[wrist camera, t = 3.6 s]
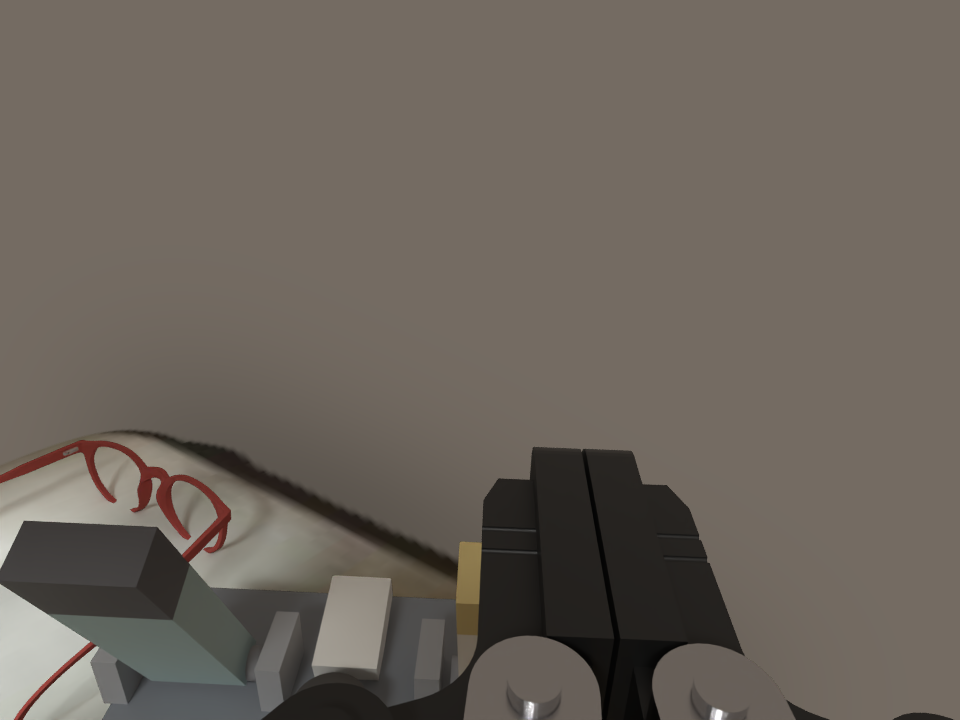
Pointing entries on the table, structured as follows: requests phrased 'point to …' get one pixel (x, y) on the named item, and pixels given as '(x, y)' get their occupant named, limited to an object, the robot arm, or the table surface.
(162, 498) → the red eyeglasses
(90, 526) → the teal lever
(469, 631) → the white and yellow lever
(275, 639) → the console
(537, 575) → the robot arm
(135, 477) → the table surface
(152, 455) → the table surface
